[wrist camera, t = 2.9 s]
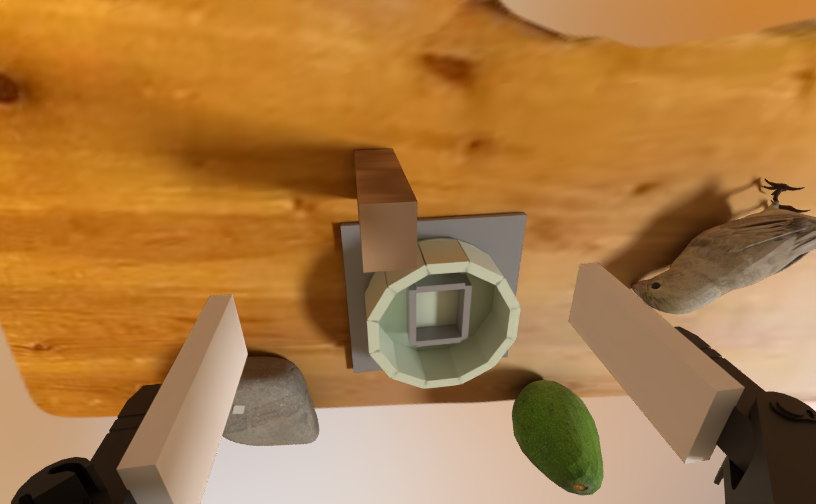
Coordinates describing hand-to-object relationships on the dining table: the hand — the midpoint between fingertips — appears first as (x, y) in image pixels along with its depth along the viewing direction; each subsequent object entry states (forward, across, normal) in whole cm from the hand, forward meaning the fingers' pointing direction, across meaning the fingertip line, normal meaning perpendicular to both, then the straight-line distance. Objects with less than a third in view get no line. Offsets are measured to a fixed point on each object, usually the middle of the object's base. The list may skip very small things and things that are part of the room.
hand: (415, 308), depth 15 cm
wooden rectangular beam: (+19, 0, 0) cm, 19 cm away
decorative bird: (+19, +31, -9) cm, 38 cm away
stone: (+19, -12, -21) cm, 31 cm away
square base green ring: (+19, +5, -12) cm, 23 cm away
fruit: (+19, +16, -26) cm, 36 cm away
